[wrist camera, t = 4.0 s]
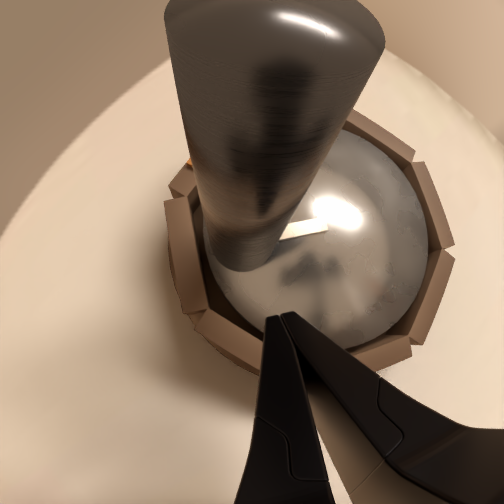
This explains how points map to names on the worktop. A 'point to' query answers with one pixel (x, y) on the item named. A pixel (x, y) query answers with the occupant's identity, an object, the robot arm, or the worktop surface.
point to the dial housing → (251, 340)
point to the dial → (294, 164)
